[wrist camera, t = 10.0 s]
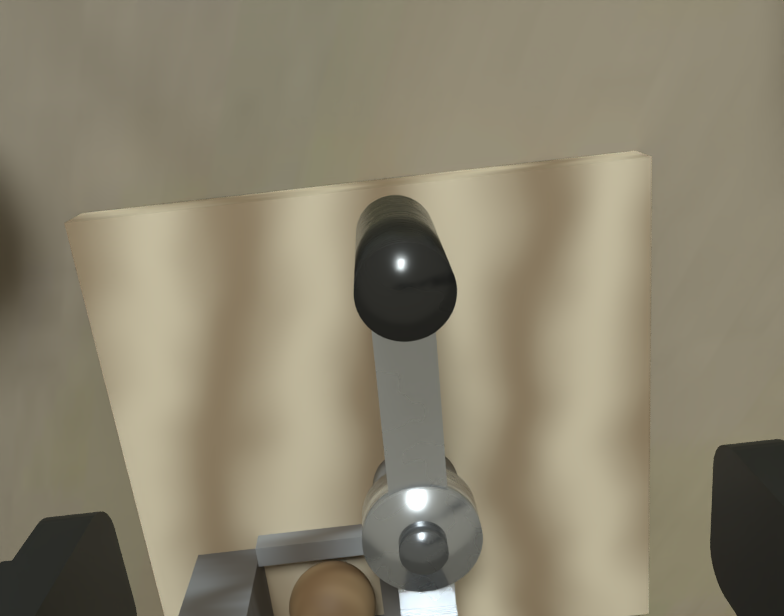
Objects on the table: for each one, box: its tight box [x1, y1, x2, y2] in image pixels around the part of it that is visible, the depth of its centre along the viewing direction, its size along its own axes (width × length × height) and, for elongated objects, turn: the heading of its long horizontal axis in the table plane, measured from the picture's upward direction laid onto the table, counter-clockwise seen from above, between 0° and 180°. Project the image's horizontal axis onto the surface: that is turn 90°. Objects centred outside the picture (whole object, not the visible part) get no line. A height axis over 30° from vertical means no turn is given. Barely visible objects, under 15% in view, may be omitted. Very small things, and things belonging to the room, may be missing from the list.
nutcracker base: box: [64, 151, 652, 616], centre depth 33 cm, size 24×23×7 cm
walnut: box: [289, 560, 376, 616], centre depth 34 cm, size 4×4×4 cm
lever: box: [354, 195, 483, 616], centre depth 28 cm, size 5×21×10 cm, turn 5°
